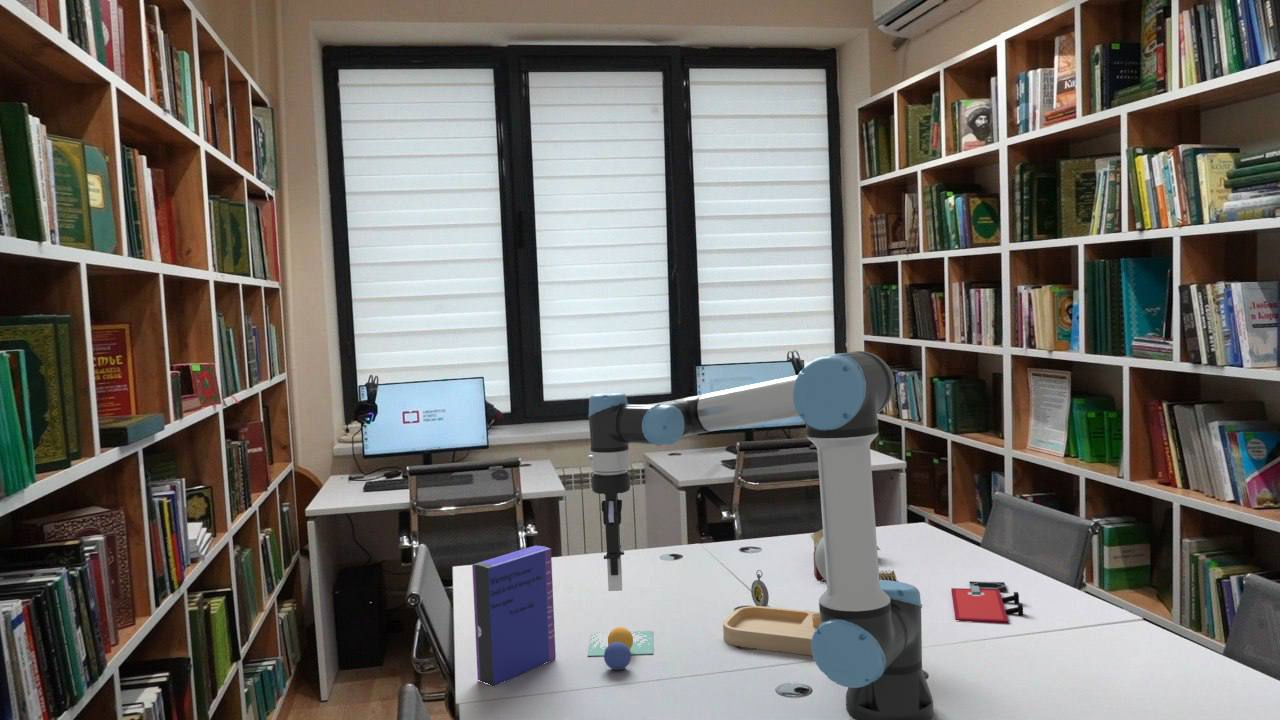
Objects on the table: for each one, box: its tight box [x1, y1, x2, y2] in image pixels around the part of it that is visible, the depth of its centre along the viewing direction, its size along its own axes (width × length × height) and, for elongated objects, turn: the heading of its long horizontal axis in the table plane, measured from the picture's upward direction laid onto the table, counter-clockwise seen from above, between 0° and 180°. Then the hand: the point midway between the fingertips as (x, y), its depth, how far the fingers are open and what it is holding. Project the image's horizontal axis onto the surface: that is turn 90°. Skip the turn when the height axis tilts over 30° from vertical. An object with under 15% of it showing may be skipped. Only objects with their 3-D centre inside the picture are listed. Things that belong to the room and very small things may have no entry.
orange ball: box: [608, 626, 633, 650], centre depth 198 cm, size 6×6×6 cm
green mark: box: [587, 630, 654, 657], centre depth 203 cm, size 14×14×1 cm
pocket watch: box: [733, 569, 769, 612], centre depth 220 cm, size 8×8×10 cm
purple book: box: [471, 545, 557, 687], centre depth 190 cm, size 17×5×24 cm, turn 141°
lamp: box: [722, 537, 827, 657], centre depth 201 cm, size 33×17×25 cm, turn 65°
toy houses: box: [810, 528, 900, 582], centre depth 248 cm, size 45×20×10 cm, turn 177°
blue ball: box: [603, 642, 632, 671], centre depth 189 cm, size 6×6×6 cm
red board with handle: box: [950, 580, 1024, 625], centre depth 222 cm, size 30×3×15 cm
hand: (615, 589), depth 182 cm, fingers closed
